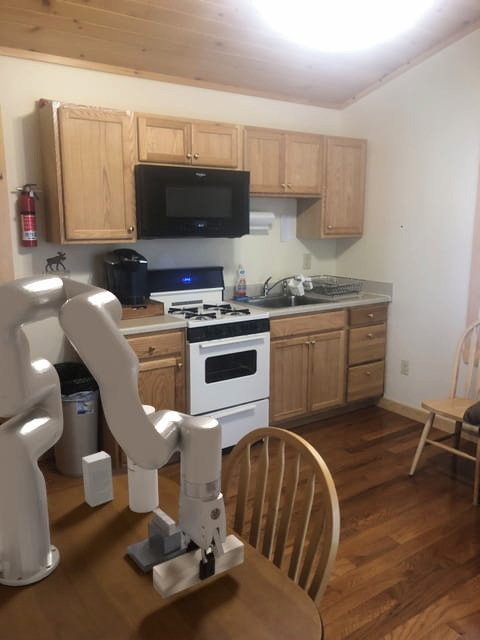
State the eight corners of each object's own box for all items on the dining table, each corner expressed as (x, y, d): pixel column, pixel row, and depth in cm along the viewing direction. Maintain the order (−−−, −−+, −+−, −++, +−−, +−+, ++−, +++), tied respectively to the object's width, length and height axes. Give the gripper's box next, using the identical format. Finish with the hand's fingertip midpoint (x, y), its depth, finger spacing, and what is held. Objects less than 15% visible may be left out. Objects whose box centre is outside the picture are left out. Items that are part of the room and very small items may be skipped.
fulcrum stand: (144, 572, 105) (143, 537, 104) (126, 553, 112) (125, 519, 110) (202, 546, 114) (201, 513, 112) (182, 529, 120) (181, 497, 119)
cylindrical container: (152, 514, 126) (148, 416, 122) (124, 511, 128) (119, 414, 123) (162, 498, 133) (159, 406, 128) (136, 496, 135) (132, 404, 130)
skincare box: (106, 493, 136) (103, 450, 134) (113, 499, 133) (111, 456, 131) (84, 501, 132) (81, 457, 130) (91, 508, 129) (88, 463, 127)
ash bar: (163, 598, 94) (163, 579, 93) (153, 586, 97) (153, 567, 96) (243, 562, 104) (244, 544, 104) (231, 551, 108) (232, 534, 107)
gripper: (244, 496, 93) (242, 586, 96) (193, 460, 106) (192, 541, 109) (210, 510, 88) (208, 604, 92) (160, 471, 101) (161, 555, 105)
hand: (200, 569), depth 101 cm, fingers closed on ash bar, 4 cm apart
